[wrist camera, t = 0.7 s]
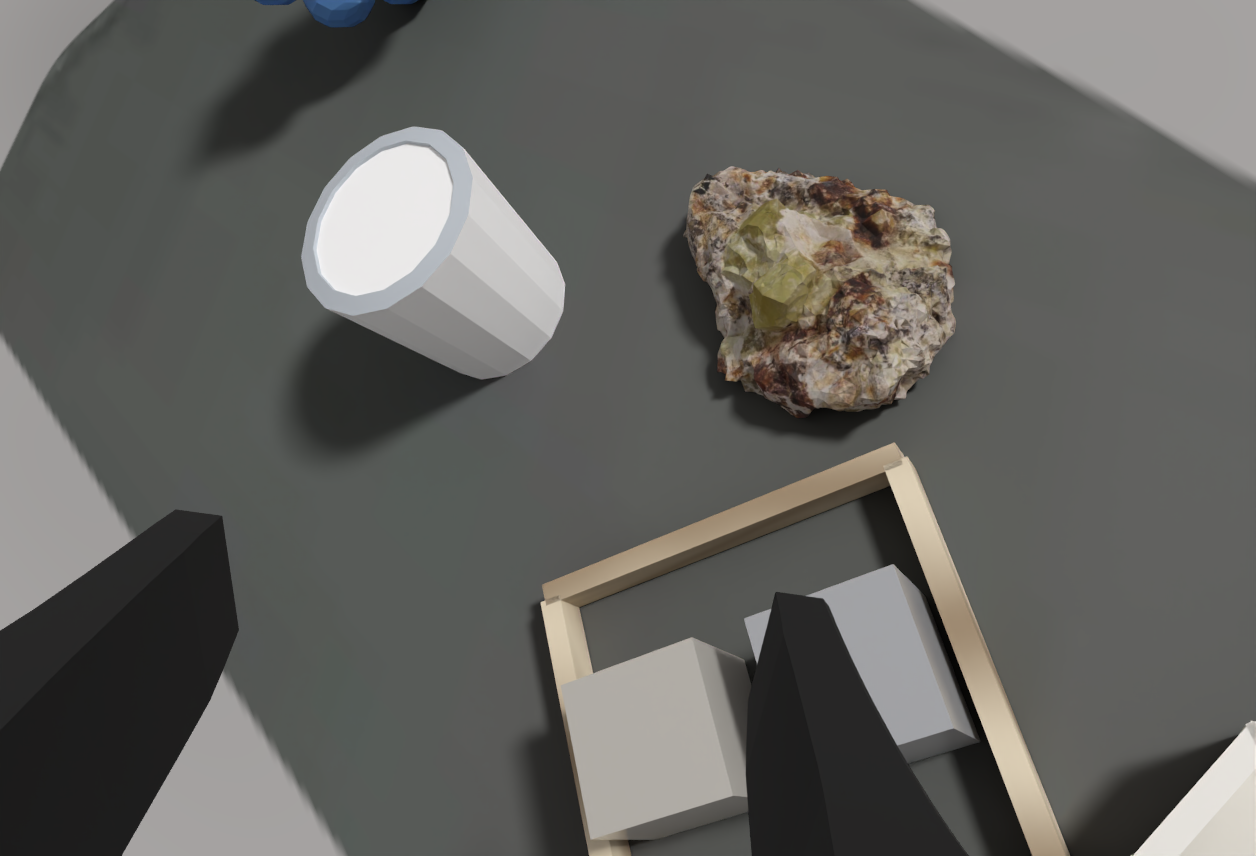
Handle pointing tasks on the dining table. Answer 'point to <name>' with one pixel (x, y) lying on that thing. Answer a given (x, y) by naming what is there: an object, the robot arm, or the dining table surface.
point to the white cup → (432, 256)
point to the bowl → (1214, 809)
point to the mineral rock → (821, 287)
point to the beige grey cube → (661, 741)
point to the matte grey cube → (896, 660)
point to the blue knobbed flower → (337, 10)
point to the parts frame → (773, 515)
